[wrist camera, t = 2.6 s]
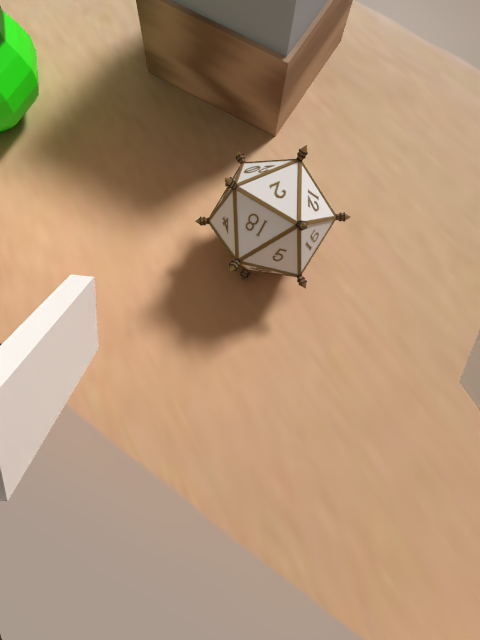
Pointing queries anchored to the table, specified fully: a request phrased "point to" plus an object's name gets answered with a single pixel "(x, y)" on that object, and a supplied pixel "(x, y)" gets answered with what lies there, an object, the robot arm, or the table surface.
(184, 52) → the tower base
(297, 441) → the table surface
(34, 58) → the plastic bottle
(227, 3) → the tower top
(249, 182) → the game die
